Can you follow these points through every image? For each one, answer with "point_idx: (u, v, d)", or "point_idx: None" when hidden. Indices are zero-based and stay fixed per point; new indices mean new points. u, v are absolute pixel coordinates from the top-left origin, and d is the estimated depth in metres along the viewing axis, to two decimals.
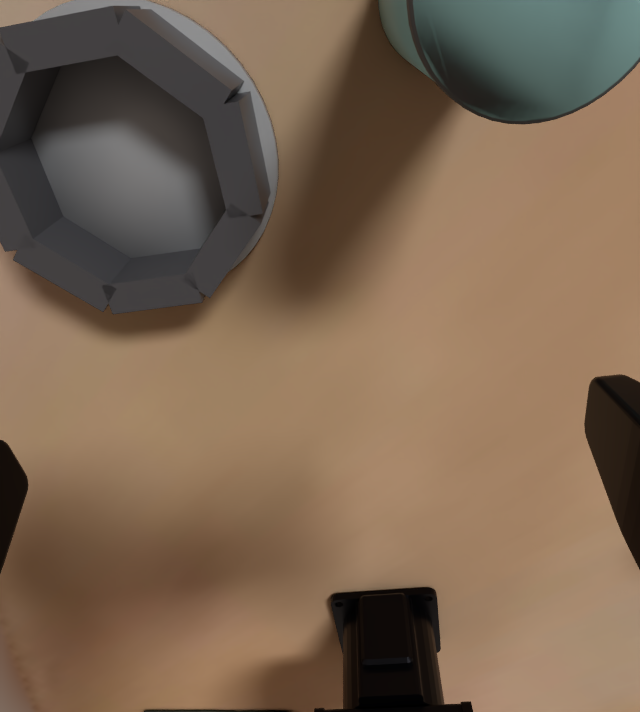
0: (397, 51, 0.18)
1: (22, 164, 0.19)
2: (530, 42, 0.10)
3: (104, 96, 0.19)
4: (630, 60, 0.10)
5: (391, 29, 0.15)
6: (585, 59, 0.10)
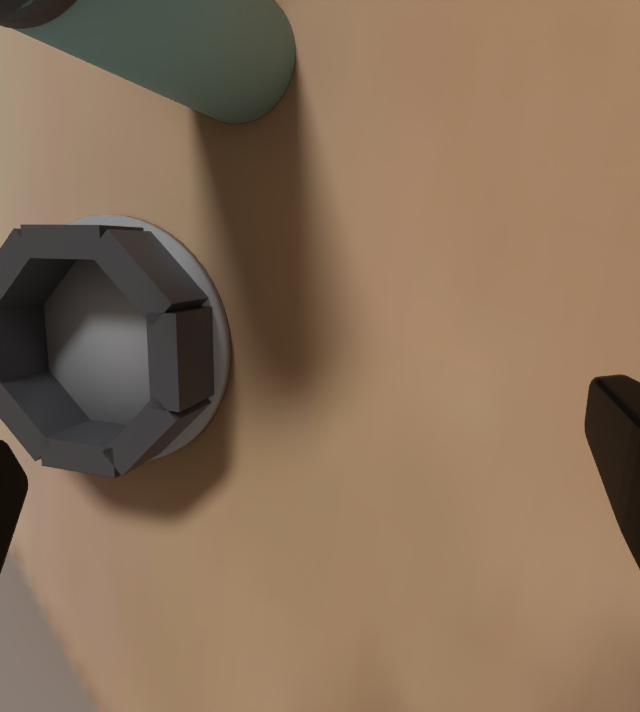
0: (220, 119, 0.19)
1: (36, 387, 0.23)
2: None
3: (73, 306, 0.23)
4: None
5: None
6: None
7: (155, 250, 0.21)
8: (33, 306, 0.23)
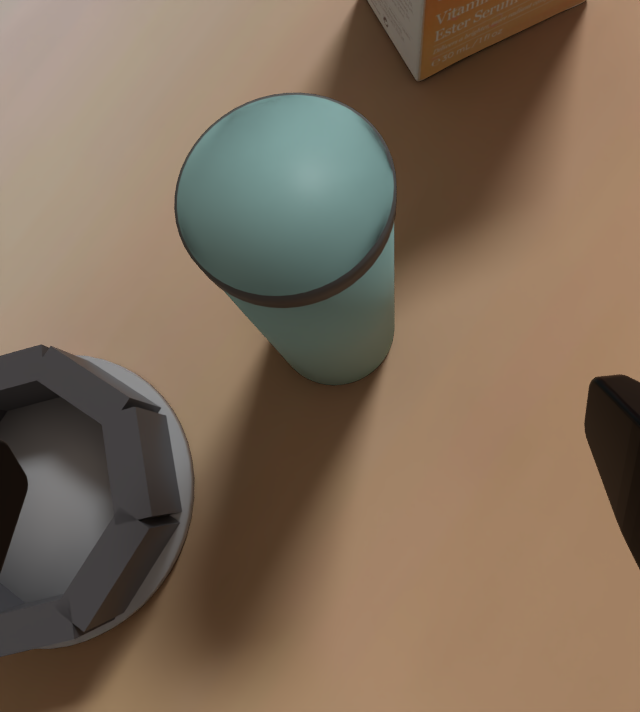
0: (294, 368, 0.20)
1: None
2: (282, 233, 0.11)
3: (37, 432, 0.21)
4: (375, 235, 0.10)
5: None
6: (334, 239, 0.11)
7: (161, 441, 0.19)
8: None
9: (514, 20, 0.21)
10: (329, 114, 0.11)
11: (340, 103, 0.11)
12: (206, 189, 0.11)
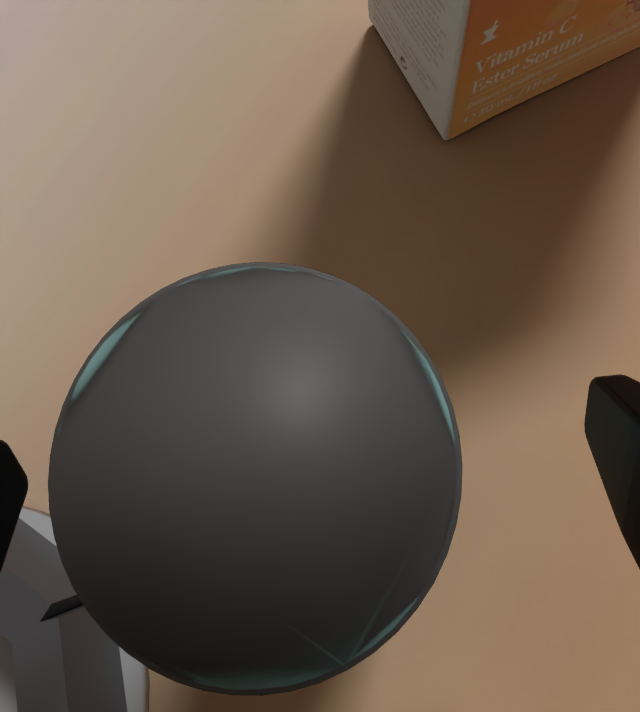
0: None
1: None
2: (243, 550, 0.06)
3: None
4: (423, 568, 0.05)
5: None
6: (343, 572, 0.05)
7: (102, 643, 0.14)
8: None
9: (573, 63, 0.16)
10: (332, 308, 0.06)
11: (353, 288, 0.06)
12: (108, 447, 0.06)
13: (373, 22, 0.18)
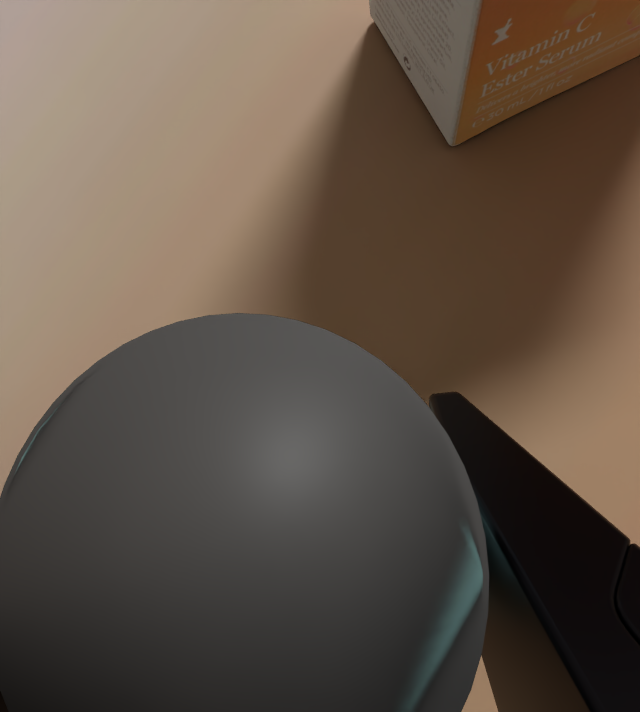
0: None
1: None
2: (219, 676, 0.05)
3: None
4: (441, 706, 0.04)
5: None
6: (341, 708, 0.04)
7: None
8: None
9: (589, 64, 0.15)
10: (328, 371, 0.05)
11: (354, 346, 0.05)
12: (56, 539, 0.05)
13: (374, 19, 0.17)
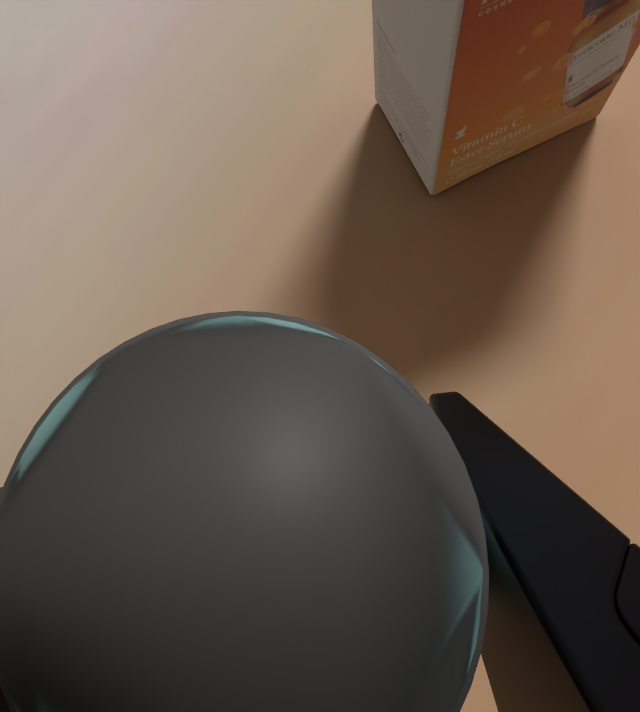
0: None
1: None
2: (219, 674, 0.05)
3: None
4: (441, 702, 0.04)
5: None
6: (341, 705, 0.04)
7: None
8: None
9: (526, 141, 0.22)
10: (328, 369, 0.05)
11: (354, 344, 0.05)
12: (56, 537, 0.05)
13: (378, 102, 0.24)
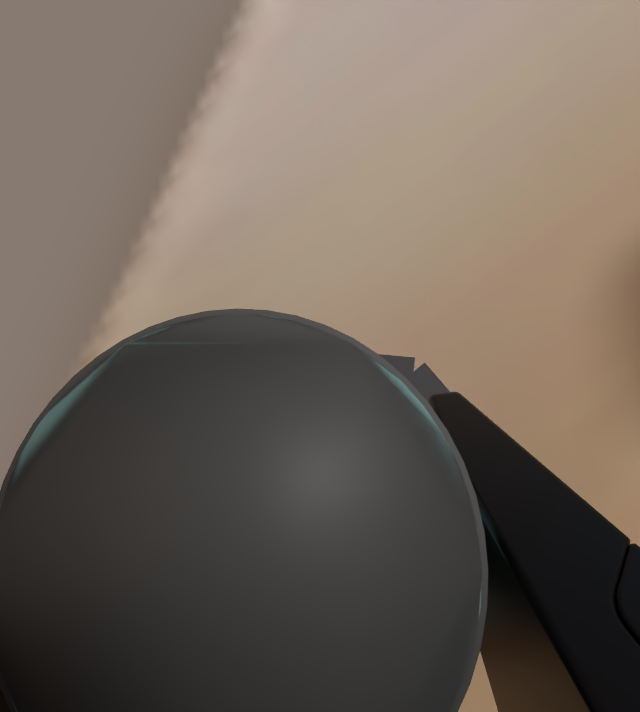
0: None
1: None
2: (218, 672, 0.05)
3: None
4: (440, 700, 0.04)
5: None
6: (340, 702, 0.04)
7: None
8: None
9: None
10: (328, 366, 0.05)
11: (353, 342, 0.05)
12: (56, 535, 0.05)
13: None
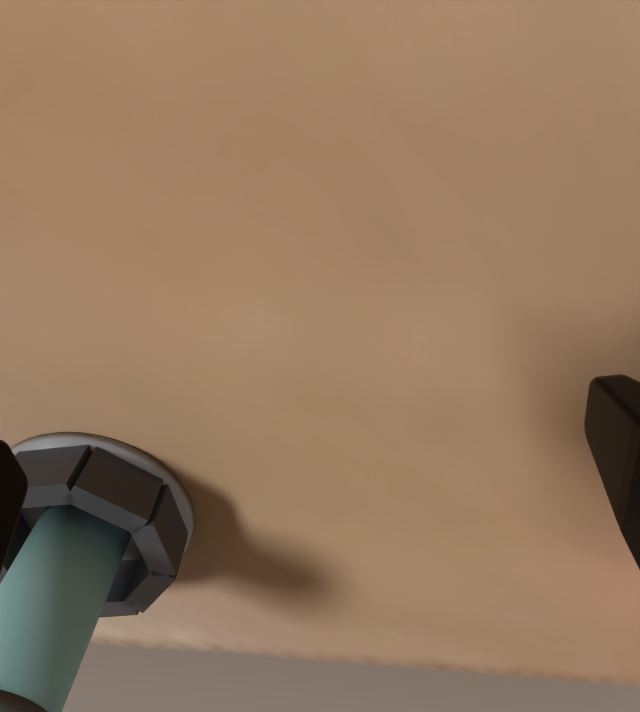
0: None
1: None
2: None
3: None
4: None
5: None
6: None
7: (30, 461, 0.25)
8: None
9: None
10: None
11: None
12: None
13: None
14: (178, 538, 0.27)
